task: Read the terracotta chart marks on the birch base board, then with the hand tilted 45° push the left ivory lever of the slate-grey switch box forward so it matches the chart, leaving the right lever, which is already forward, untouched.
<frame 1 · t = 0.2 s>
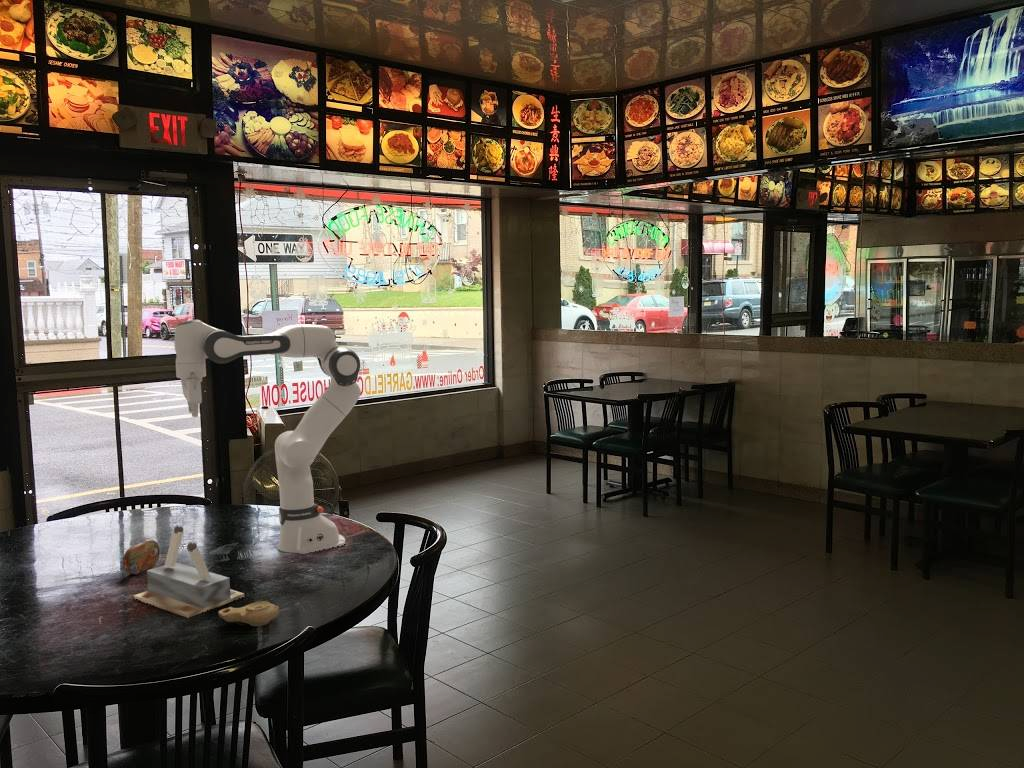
hand: (193, 414, 265), 48 cm above the table, tool pointing down, fingers open, 8 cm apart
oil lamp: (250, 624, 218), on the table
lever 2: (198, 560, 228), point 13 cm above the table, hinge at 20.0°
lever 1: (174, 545, 242), point 13 cm above the table, hinge at -20.0°
switch box: (189, 597, 237), on the table
tin: (142, 570, 262), on the table
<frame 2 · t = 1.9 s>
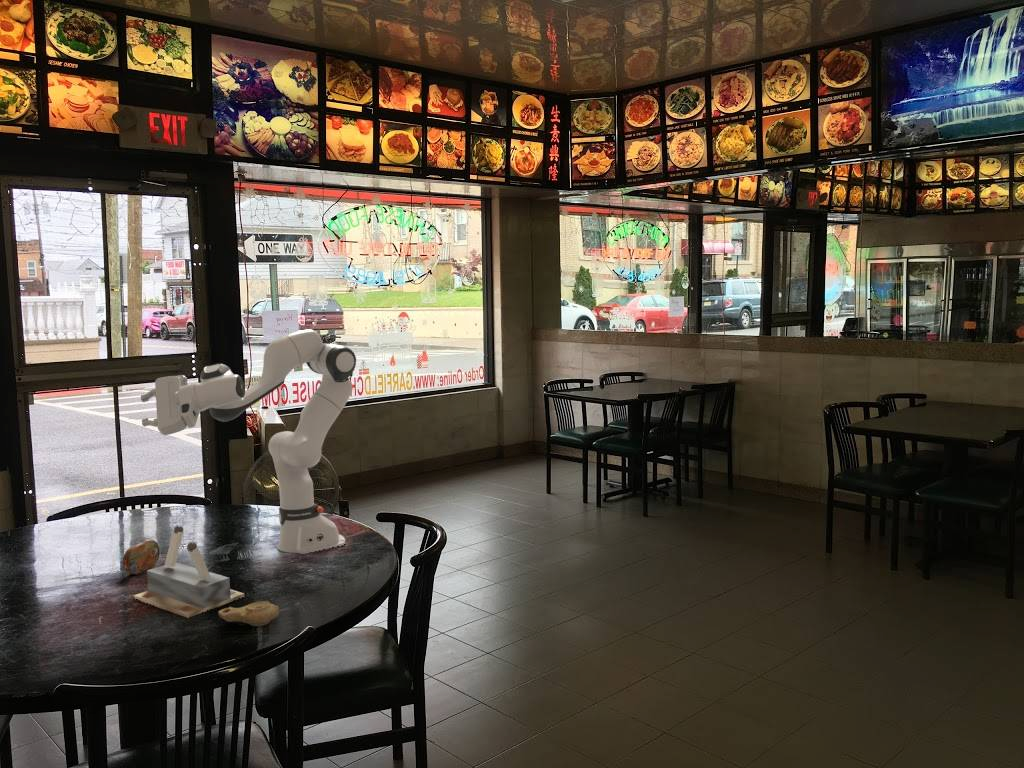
hand: (141, 410, 249), 52 cm above the table, tool horizontal, fingers open, 8 cm apart
nothing on the table moved.
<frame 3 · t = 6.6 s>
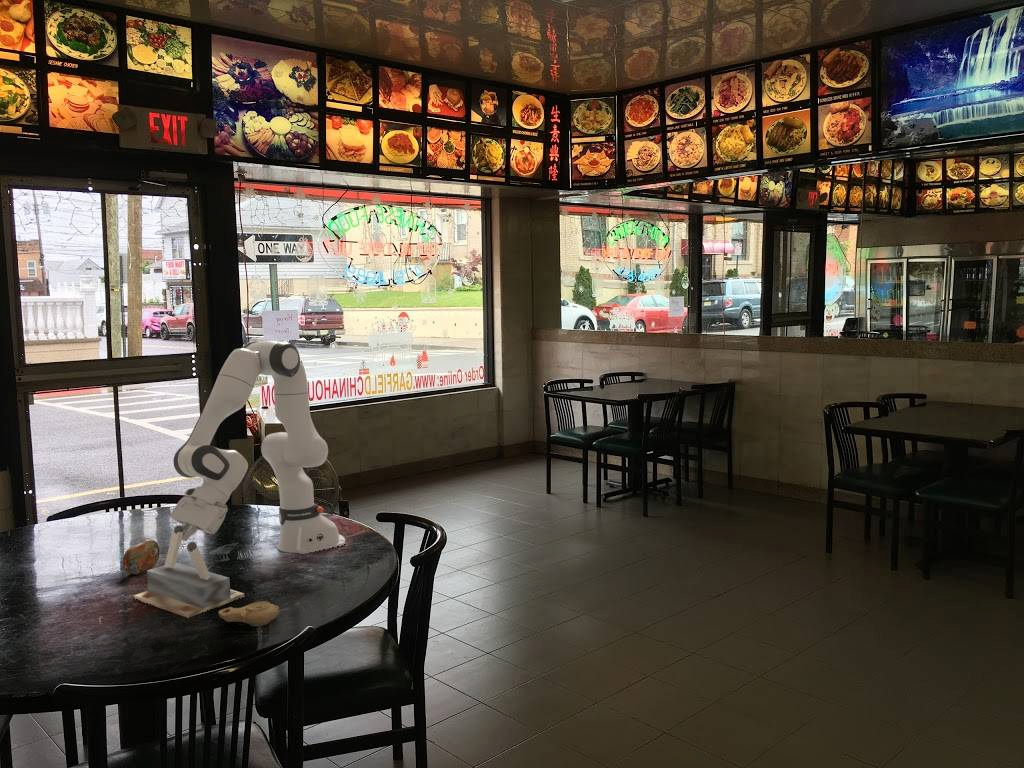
hand: (181, 539, 244), 15 cm above the table, tool tilted 45°, fingers closed, pressing on lever 1
lever 1: (174, 545, 242), point 13 cm above the table, hinge at -20.0°, touching gripper
everything else where it was.
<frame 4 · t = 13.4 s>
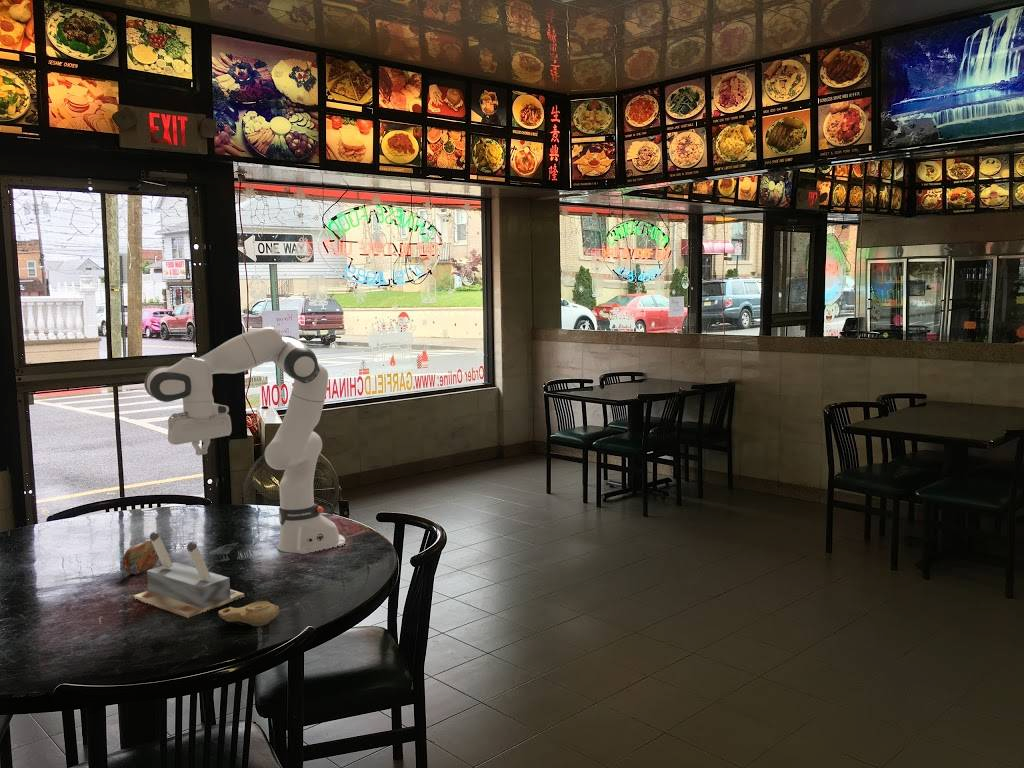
hand: (201, 454, 255), 37 cm above the table, tool pointing down, fingers closed
lever 1: (160, 549, 239), point 13 cm above the table, hinge at 19.7°
everything else where it was.
at the end: lever 1 at +20° (first picture: -20°); lever 2 at +20° (first picture: +20°) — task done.
